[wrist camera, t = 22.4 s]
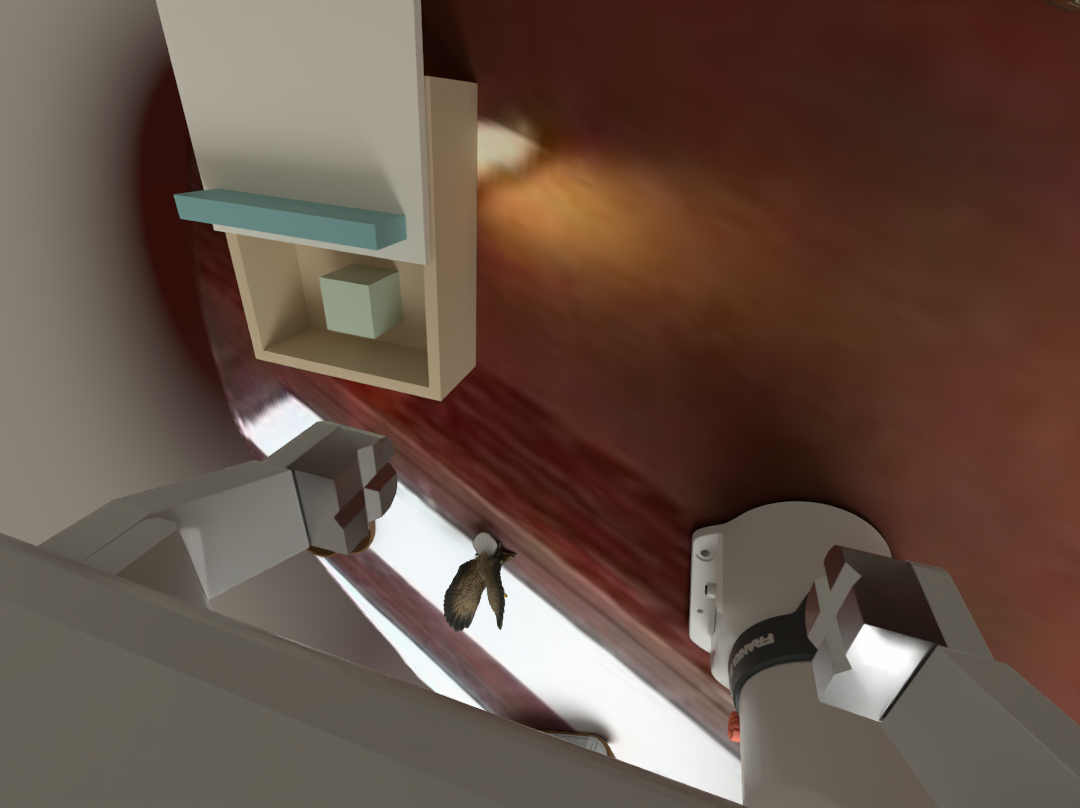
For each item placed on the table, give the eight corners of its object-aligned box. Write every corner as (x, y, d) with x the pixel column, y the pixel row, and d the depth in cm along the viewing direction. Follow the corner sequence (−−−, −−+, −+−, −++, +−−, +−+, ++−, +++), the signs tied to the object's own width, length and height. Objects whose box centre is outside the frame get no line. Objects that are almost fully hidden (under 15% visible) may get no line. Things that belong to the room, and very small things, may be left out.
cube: (398, 271, 43) (368, 285, 39) (403, 320, 45) (374, 338, 41) (353, 263, 44) (319, 277, 40) (359, 312, 46) (327, 329, 42)
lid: (431, 262, 34) (398, 279, 31) (223, 228, 38) (172, 239, 35) (412, -202, 23) (357, -260, 20) (121, -185, 27) (31, -230, 24)
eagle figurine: (499, 582, 60) (468, 647, 53) (457, 542, 59) (419, 603, 51) (542, 560, 56) (515, 628, 49) (498, 517, 55) (464, 580, 47)
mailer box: (475, 365, 46) (441, 401, 40) (308, 330, 50) (255, 358, 44) (477, 83, 35) (429, 76, 29) (261, 67, 39) (181, 57, 33)
